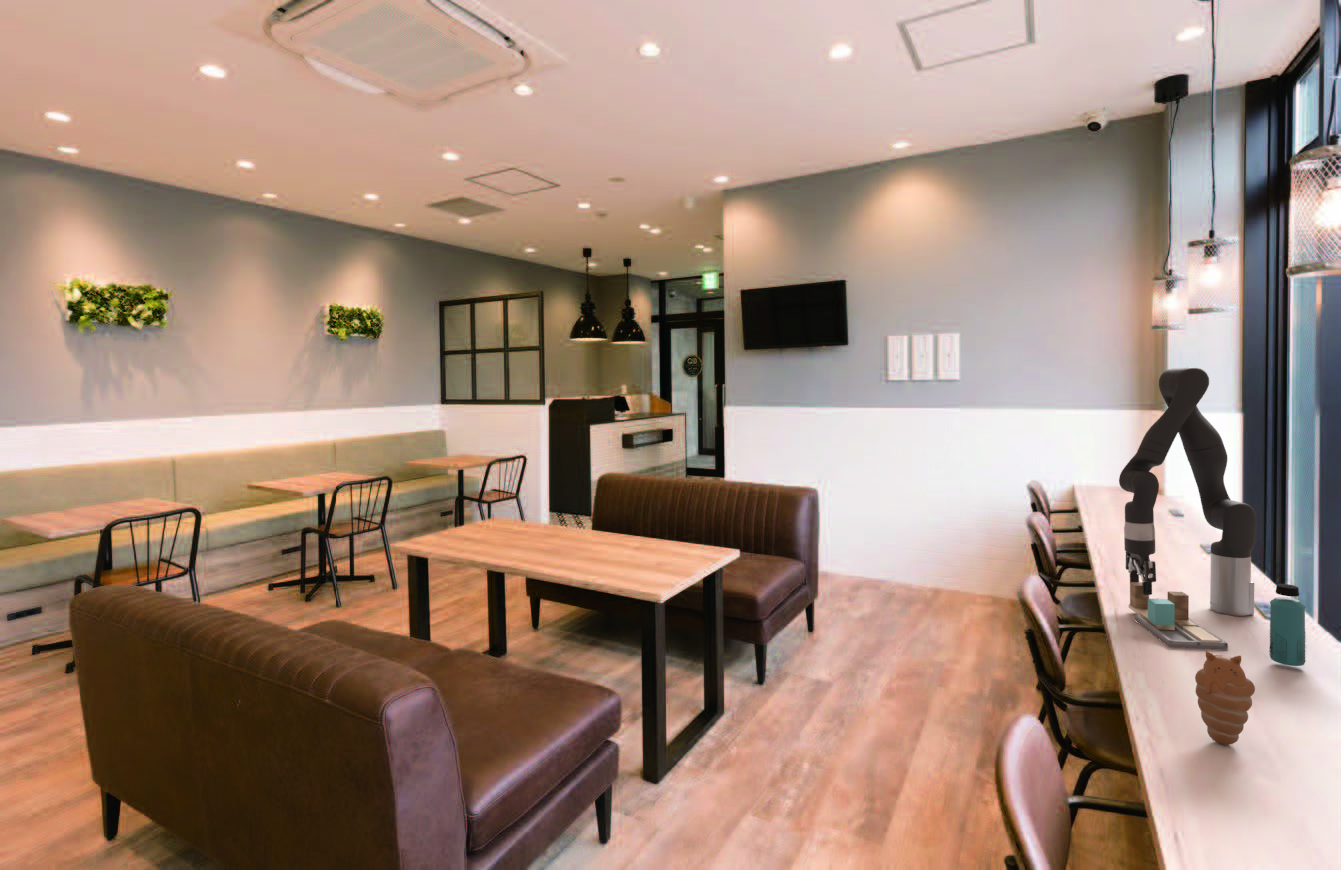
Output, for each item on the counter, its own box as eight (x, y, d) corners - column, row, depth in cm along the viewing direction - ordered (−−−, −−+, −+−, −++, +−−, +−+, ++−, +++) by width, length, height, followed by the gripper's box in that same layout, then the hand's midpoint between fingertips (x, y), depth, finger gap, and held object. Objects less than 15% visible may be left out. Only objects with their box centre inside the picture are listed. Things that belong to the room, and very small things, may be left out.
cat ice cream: (1197, 748, 128) (1197, 656, 127) (1191, 729, 135) (1191, 642, 133) (1257, 759, 123) (1258, 664, 122) (1248, 739, 130) (1249, 649, 129)
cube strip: (1143, 608, 201) (1143, 582, 201) (1174, 630, 183) (1174, 601, 183) (1128, 607, 202) (1128, 581, 202) (1157, 629, 184) (1158, 601, 184)
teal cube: (1166, 619, 188) (1166, 599, 188) (1174, 625, 184) (1174, 604, 183) (1147, 619, 189) (1147, 598, 189) (1155, 624, 185) (1155, 603, 185)
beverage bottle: (1312, 673, 157) (1314, 589, 156) (1280, 672, 158) (1281, 589, 157) (1293, 662, 163) (1294, 581, 162) (1261, 661, 165) (1262, 581, 163)
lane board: (1185, 622, 192) (1185, 614, 192) (1227, 650, 172) (1227, 641, 172) (1134, 620, 195) (1134, 612, 195) (1169, 647, 175) (1169, 639, 175)
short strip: (1181, 618, 191) (1182, 591, 191) (1196, 628, 184) (1196, 600, 183) (1165, 618, 192) (1165, 590, 192) (1179, 627, 185) (1179, 599, 184)
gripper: (1165, 542, 191) (1166, 597, 192) (1143, 531, 204) (1144, 583, 205) (1135, 542, 192) (1137, 597, 193) (1115, 531, 206) (1116, 583, 207)
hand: (1140, 590), depth 199 cm, fingers open, 8 cm apart
